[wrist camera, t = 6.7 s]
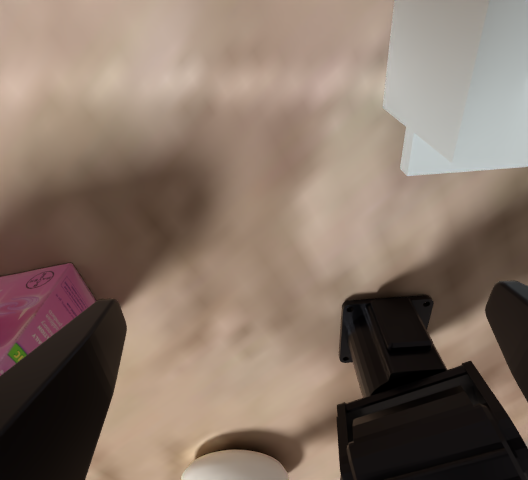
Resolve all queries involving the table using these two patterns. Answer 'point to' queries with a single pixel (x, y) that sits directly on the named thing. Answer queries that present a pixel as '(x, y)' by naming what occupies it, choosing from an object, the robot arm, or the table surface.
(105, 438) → the table surface
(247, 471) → the flower in vase
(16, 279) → the box
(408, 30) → the lid
